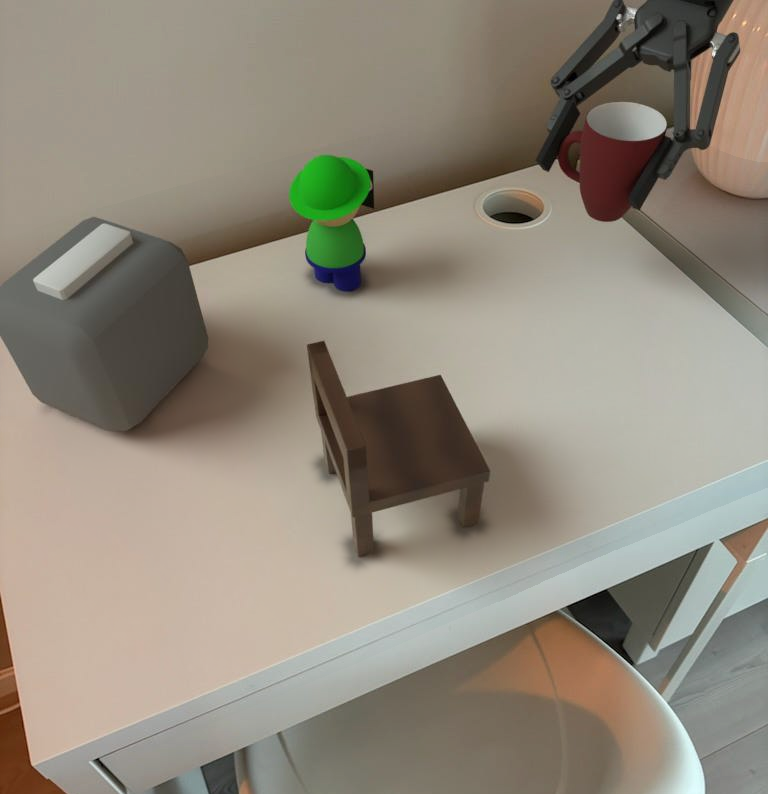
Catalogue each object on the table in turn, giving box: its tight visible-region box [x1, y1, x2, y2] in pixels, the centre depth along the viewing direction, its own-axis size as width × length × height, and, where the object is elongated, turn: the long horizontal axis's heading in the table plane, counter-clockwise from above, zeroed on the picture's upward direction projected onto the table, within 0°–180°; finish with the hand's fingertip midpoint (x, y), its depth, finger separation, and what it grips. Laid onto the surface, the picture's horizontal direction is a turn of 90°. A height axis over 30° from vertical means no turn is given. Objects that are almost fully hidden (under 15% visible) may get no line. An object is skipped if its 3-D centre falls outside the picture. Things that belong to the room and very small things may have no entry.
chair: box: [306, 340, 491, 558], centre depth 65 cm, size 12×12×15 cm
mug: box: [557, 101, 668, 223], centre depth 79 cm, size 10×8×10 cm
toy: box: [288, 154, 375, 292], centre depth 84 cm, size 9×9×15 cm
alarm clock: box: [0, 216, 209, 432], centre depth 74 cm, size 16×11×16 cm
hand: (586, 185), depth 79 cm, fingers closed on mug, 11 cm apart
